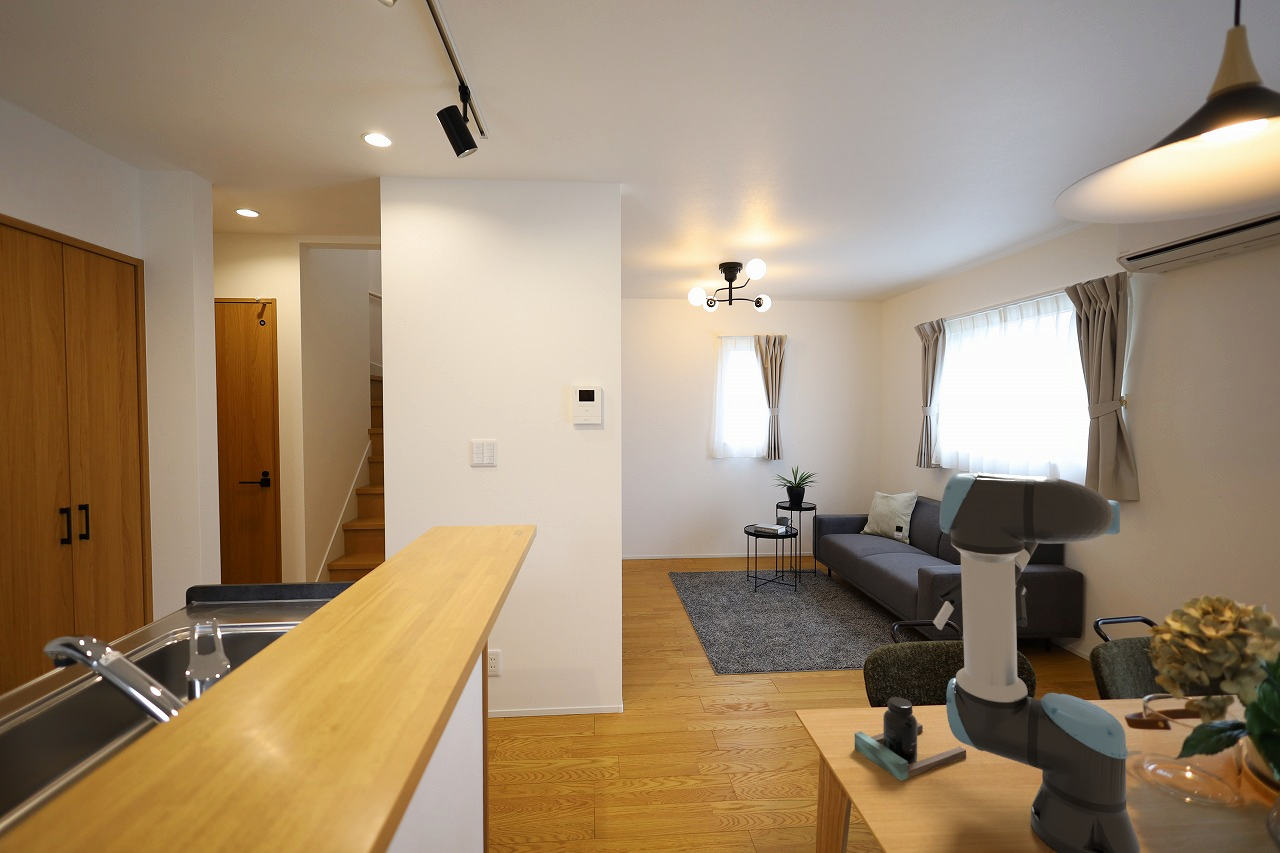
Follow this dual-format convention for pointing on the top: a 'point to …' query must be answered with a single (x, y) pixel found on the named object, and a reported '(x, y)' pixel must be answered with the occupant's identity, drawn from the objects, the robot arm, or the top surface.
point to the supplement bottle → (900, 729)
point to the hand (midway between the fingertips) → (963, 635)
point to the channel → (895, 763)
